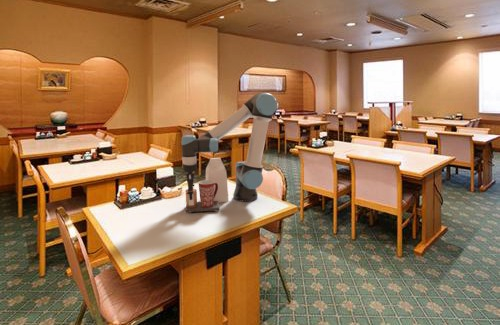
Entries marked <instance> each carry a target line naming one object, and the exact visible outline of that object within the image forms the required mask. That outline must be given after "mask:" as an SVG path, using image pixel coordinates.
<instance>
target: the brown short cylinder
mask: <svg viewBox="0 0 500 325" xmlns="http://www.w3.org/2000/svg"><path fill="white" fill-rule="evenodd" d="M189 192H192V191H189ZM187 193H188V188H187V189H186V190H185V204H186V205H185V208H186V207H189V208H192V207H196V206H197V202H198V195H197V193H198V192H197V189H196V188H193V197H194V205H189V200H188V194H187Z"/></svg>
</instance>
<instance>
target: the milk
mask: <svg viewBox="0 0 500 325" xmlns="http://www.w3.org/2000/svg"><path fill="white" fill-rule="evenodd" d="M227 174H228V173H227V169H226V167H225V165H224V163H223V161H222V159H221V157H210V159H209V161H208V163H207V165H206V168H205V180H212V181H214V182H215V183H217V184H218V190H217V193H216V195H215V197H214V201H218V203H226V202H229V190H228V175H227ZM214 191H215V185H214Z"/></svg>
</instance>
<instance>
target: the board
mask: <svg viewBox="0 0 500 325" xmlns="http://www.w3.org/2000/svg"><path fill="white" fill-rule="evenodd" d="M209 211H214V212H217V211H220V206H219V202H218V201H214V205H213V206H211V207H202V206H201V202H200V201H197V206H196V207H192V208H189V207H186V206H185V212H186V213H189V214H191V213H194V212H209Z"/></svg>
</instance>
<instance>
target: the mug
mask: <svg viewBox="0 0 500 325" xmlns="http://www.w3.org/2000/svg"><path fill="white" fill-rule="evenodd" d="M197 184H198V190H199V191H198V192H199V199H200V201H199V202H201V206H202V207H211V206H213V205H214V197H215V195H216V193H217V190H218V184H217V183H215V182H214V181H212V180H206V179H204V180H200V181H198V182H197ZM214 185H215V191H214Z"/></svg>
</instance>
